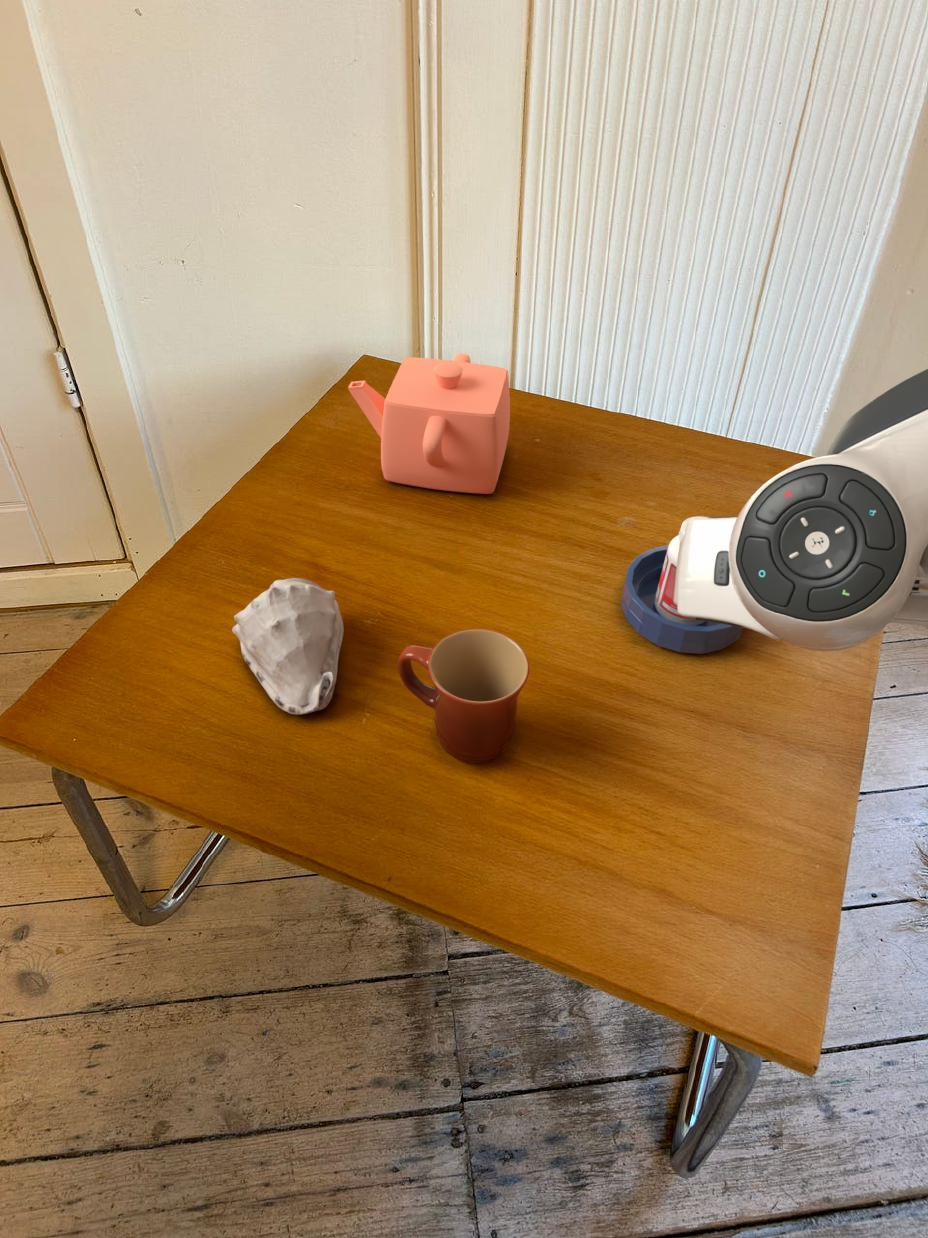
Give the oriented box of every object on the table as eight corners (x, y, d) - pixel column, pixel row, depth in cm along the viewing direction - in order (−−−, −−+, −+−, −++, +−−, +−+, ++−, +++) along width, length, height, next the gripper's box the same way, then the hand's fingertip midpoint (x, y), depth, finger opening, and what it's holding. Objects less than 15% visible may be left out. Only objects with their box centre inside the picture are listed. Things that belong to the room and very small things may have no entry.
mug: (532, 717, 84) (542, 645, 76) (501, 787, 78) (509, 716, 70) (420, 680, 86) (419, 607, 79) (381, 745, 81) (377, 672, 73)
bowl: (743, 582, 98) (753, 555, 96) (743, 668, 89) (754, 641, 86) (626, 562, 100) (632, 535, 97) (614, 644, 91) (620, 617, 88)
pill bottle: (719, 624, 93) (746, 546, 85) (666, 632, 91) (688, 553, 84) (696, 586, 97) (719, 507, 89) (645, 593, 96) (664, 514, 88)
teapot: (514, 426, 120) (522, 332, 110) (490, 523, 104) (496, 424, 95) (375, 409, 122) (370, 315, 112) (331, 502, 106) (321, 403, 97)
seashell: (300, 733, 81) (288, 662, 74) (219, 652, 88) (200, 580, 81) (398, 668, 88) (395, 597, 80) (315, 597, 94) (306, 526, 87)
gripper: (1032, 537, 48) (992, 565, 60) (663, 517, 56) (696, 545, 69) (1019, 650, 48) (982, 654, 60) (652, 613, 56) (687, 623, 69)
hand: (828, 596), depth 65 cm, fingers open, 8 cm apart
